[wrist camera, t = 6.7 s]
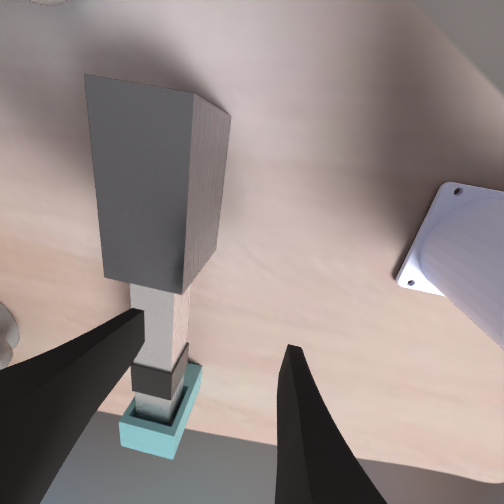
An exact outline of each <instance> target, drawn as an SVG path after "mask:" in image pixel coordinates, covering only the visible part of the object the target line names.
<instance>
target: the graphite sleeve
mask: <svg viewBox="0 0 504 504" xmlns="http://www.w3.org/2000/svg"><path fill="white" fill-rule="evenodd" d="M84 78H85V88H86V98H87V108H88V118H89V128H90V138H91V148H92V158H93V168H94V178H95V188H96V198H97V208H98V218H99V228H100V238H101V248H102V258H103V268H104V277H105V278H109V279H113V280H118V281H122V282H127V283H131V284H135V285H140V286H144V287H149V288H153V289H157V290H162V291H166V292H170V293H175V294H179V295H183V293H184V292H185V291H186V289H187V288H188V287H189V285H190V284H191V283H192V281H193V280H194V279H195V277H196V276H197V275H198V273H199V272H200V270H201V269H202V268H203V266H204V265H205V264H206V262H207V261H208V260H209V258H210V257H211V256H212V254H213V253H214V251H215V250H216V244H217V235H218V226H219V218H220V209H221V201H222V192H223V183H224V175H225V166H226V158H227V149H228V140H229V132H230V123H231V116H230V115H228V114H226V113H225V112H223V111H222V110H220V109H218V108H217V107H215V106H214V105H212V104H211V103H209V102H207V101H206V100H204V99H203V98H201V97H199V96H198V95H196V94H195V93H191V92H185V91H179V90H174V89H168V88H162V87H156V86H151V85H145V84H139V83H134V82H128V81H122V80H116V79H111V78H105V77H99V76H93V75H88V74H84Z"/></svg>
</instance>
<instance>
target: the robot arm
mask: <svg viewBox="0 0 504 504" xmlns="http://www.w3.org/2000/svg"><path fill="white" fill-rule="evenodd" d="M457 188H459V192H458V193H457V194H455V195H454V191H455V189H457ZM410 280H412V282H411V283H408V281H410ZM396 283H397V284H398V285H399V286H401V287H405V288H410V289H415V290H419V291H424V292H429V293H433V294H438V295H443V296H445V297H447V298H448V299H449V300H450V301H451V302H452V303H453V304H454V305H455V306H456V307H457V308H459V309H460V310H461V311H462V312H463V313H464V314H465V315H466V316H467V317H468V318H469V319H471V320H472V321H473V322H474V323H475V324H476V325H477V326H478V327H479V328H480V329H481V330H483V331H484V332H485V333H486V334H487V335H488V336H489V337H490V338H491V339H492V340H493V341H495V342H496V343H497V344H498V345H499V346H500V347H501V348H502V349H503V350H504V192H503V191H498V190H492V189H487V188H482V187H476V186H471V185H465V184H460V183H455V182H446V183H444V184H443V185H441V187H440V188H439V190H438V192H437V194H436V196H435V198H434V201H433V203H432V205H431V207H430V209H429V211H428V213H427V215H426V217H425V219H424V221H423V223H422V225H421V227H420V230H419V232H418V234H417V236H416V238H415V240H414V242H413V244H412V246H411V248H410V250H409V252H408V254H407V256H406V259H405V261H404V263H403V265H402V267H401V269H400V271H399V273H398V275H397V277H396ZM144 342H145V320H144V310H140V309H136V308H131V309H129V310H127V311H125V312H124V313H122V314H120V315H118V316H116V317H115V318H113V319H111V320H109V321H107V322H106V323H104V324H102V325H100V326H98V327H96V328H94V329H93V330H91V331H89V332H87V333H85V334H83V335H81V336H79V337H77V338H75V339H73V340H71V341H69V342H67V343H65V344H63V345H61V346H58V347H56V348H54V349H52V350H49V351H47V352H45V353H43V354H40V355H38V356H35V357H33V358H31V359H28V360H26V361H23V362H20V363H18V364H15V365H12V366H9V367H7V368H4V369H1V370H0V504H40V502H41V501H42V499H43V497H44V495H45V494H46V492H47V490H48V488H49V487H50V485H51V483H52V481H53V480H54V478H55V476H56V475H57V473H58V471H59V469H60V468H61V466H62V464H63V463H64V461H65V459H66V458H67V456H68V454H69V453H70V451H71V450H72V448H73V446H74V445H75V443H76V441H77V440H78V438H79V437H80V435H81V433H82V432H83V430H84V429H85V427H86V425H87V424H88V422H89V421H90V419H91V418H92V416H93V415H94V413H95V412H96V411H97V409H98V408H99V406H100V405H101V404H102V402H103V401H104V400H105V398H106V397H107V396H108V394H109V393H110V392H111V390H112V389H113V388H114V386H115V385H116V384H117V383H118V381H119V380H120V379H121V377H122V376H123V375H124V373H125V372H126V371H127V369H128V368H129V367H130V365H131V364H132V362H133V361H134V359H135V358H136V356H137V355H138V353H139V351H140V349H141V348H142V346H143V344H144ZM277 450H278V453H277V458H278V459H277V477H276V494H275V504H387V503H386V501H385V500H384V498H383V497H382V496H381V494H380V493H379V492H378V490H377V489H376V487H375V486H374V484H373V483H372V481H371V480H370V479H369V477H368V476H367V474H366V473H365V471H364V470H363V468H362V467H361V465H360V464H359V462H358V461H357V459H356V458H355V456H354V455H353V453H352V451H351V450H350V448H349V447H348V445H347V443H346V442H345V440H344V438H343V437H342V435H341V433H340V431H339V430H338V428H337V426H336V424H335V423H334V421H333V419H332V417H331V415H330V413H329V411H328V409H327V407H326V405H325V403H324V401H323V399H322V397H321V395H320V393H319V391H318V388H317V386H316V384H315V382H314V379H313V377H312V374H311V372H310V369H309V367H308V364H307V362H306V359H305V356H304V353H303V350H302V348H301V347H298V346H294V345H289V344H288V346H287V349H286V352H285V356H284V359H283V362H282V365H281V369H280V372H279V378H278V389H277Z"/></svg>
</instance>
